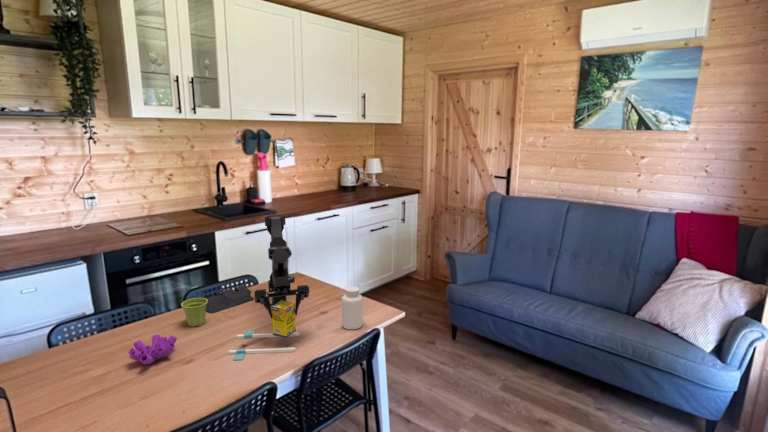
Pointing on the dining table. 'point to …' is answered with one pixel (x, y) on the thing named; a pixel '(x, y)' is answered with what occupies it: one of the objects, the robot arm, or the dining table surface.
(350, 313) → the pill bottle
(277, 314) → the supplement box
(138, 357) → the purple coral
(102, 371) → the dining table surface
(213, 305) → the dark slate chunk
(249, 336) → the channel
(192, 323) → the plant pot
